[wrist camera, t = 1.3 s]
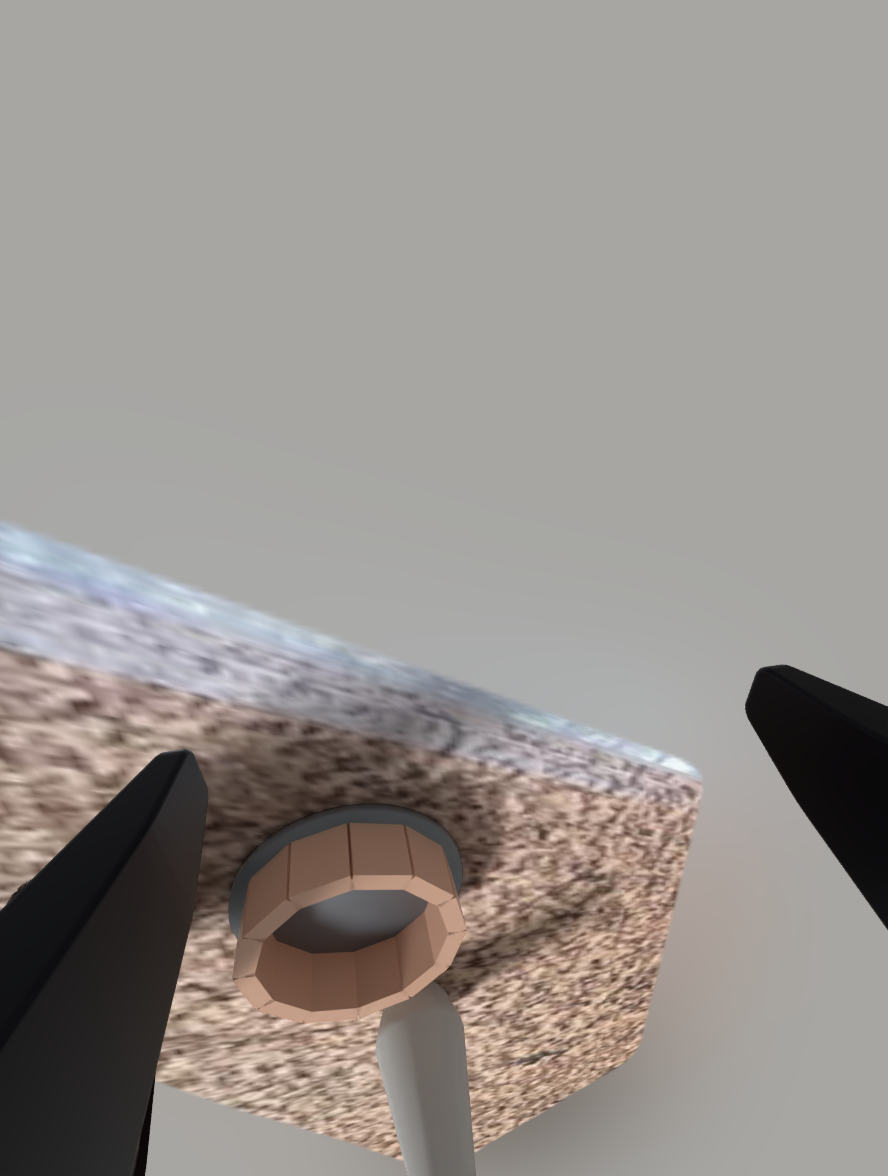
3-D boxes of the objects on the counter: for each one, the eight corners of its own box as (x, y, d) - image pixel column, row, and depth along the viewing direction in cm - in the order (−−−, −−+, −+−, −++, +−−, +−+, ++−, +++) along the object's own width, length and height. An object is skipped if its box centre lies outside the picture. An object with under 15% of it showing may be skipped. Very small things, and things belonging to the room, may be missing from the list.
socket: (425, 955, 34) (436, 1018, 31) (214, 966, 30) (202, 1040, 26) (489, 809, 29) (510, 865, 26) (251, 797, 25) (241, 862, 22)
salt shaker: (375, 1031, 36) (404, 1348, 25) (367, 985, 34) (394, 1314, 22) (456, 1007, 37) (518, 1301, 26) (453, 961, 35) (521, 1263, 23)
